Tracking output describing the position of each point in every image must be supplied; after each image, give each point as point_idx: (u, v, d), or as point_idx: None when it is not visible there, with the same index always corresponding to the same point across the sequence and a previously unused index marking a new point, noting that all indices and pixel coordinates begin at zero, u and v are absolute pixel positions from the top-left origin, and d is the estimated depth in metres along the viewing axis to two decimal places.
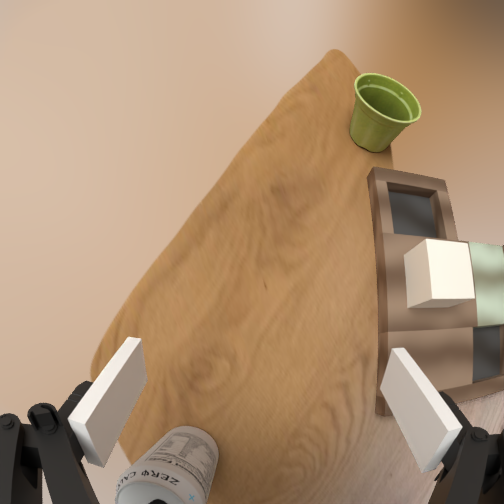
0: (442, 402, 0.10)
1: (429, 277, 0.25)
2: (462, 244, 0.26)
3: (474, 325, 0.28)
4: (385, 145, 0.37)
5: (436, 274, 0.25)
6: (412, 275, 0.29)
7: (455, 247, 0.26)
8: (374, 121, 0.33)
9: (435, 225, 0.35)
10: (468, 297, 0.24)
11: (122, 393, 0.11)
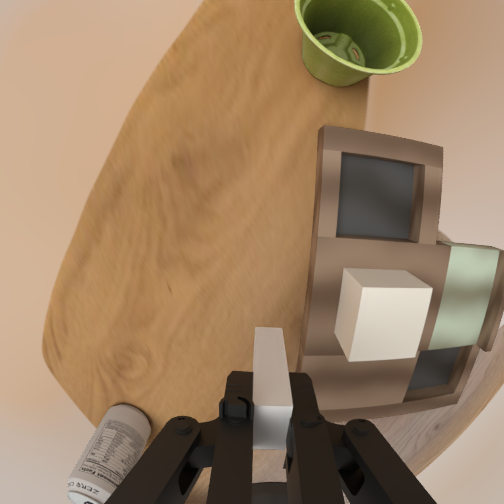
0: (288, 380, 0.12)
1: (352, 336, 0.21)
2: (423, 291, 0.20)
3: (423, 349, 0.26)
4: (355, 81, 0.22)
5: (363, 333, 0.21)
6: (344, 305, 0.24)
7: (409, 296, 0.20)
8: (328, 59, 0.17)
9: (411, 210, 0.26)
10: (405, 357, 0.21)
11: None
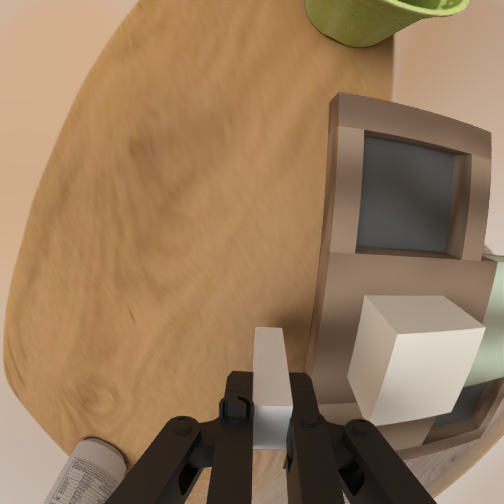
0: (288, 380, 0.12)
1: (375, 396, 0.13)
2: (474, 332, 0.12)
3: None
4: (379, 39, 0.14)
5: (391, 393, 0.13)
6: (363, 348, 0.16)
7: (457, 340, 0.12)
8: None
9: (450, 215, 0.18)
10: (439, 413, 0.14)
11: None
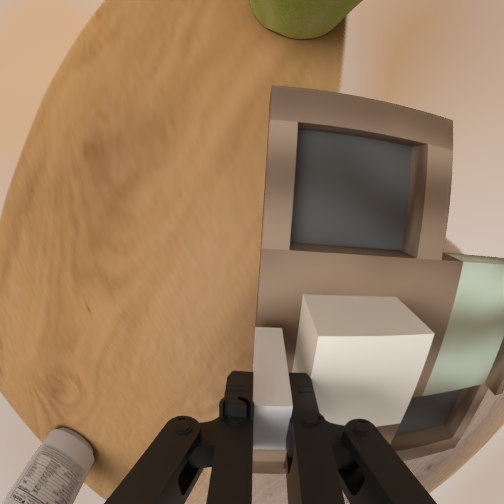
0: (288, 380, 0.12)
1: None
2: (419, 338, 0.12)
3: (416, 395, 0.19)
4: (322, 28, 0.14)
5: (321, 398, 0.13)
6: (300, 349, 0.16)
7: (396, 347, 0.12)
8: None
9: (408, 210, 0.18)
10: (385, 424, 0.14)
11: None
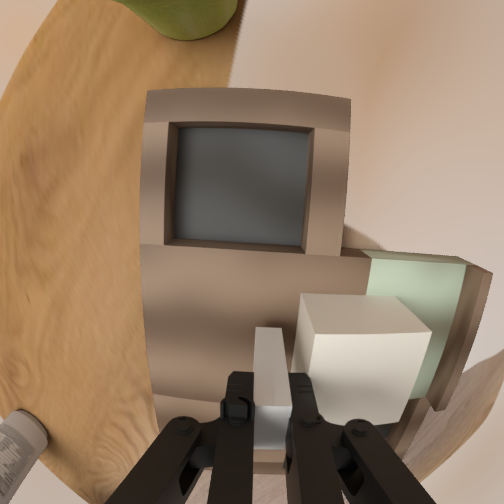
0: (288, 380, 0.12)
1: None
2: (416, 336, 0.12)
3: None
4: (204, 26, 0.14)
5: (319, 397, 0.13)
6: (298, 347, 0.16)
7: (394, 345, 0.13)
8: (124, 2, 0.10)
9: (304, 202, 0.18)
10: (384, 422, 0.14)
11: None
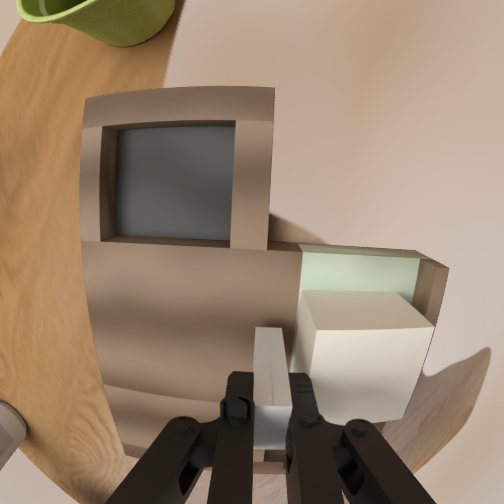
0: (288, 380, 0.12)
1: None
2: (419, 331, 0.12)
3: None
4: (138, 32, 0.14)
5: (321, 394, 0.13)
6: (299, 345, 0.16)
7: (396, 340, 0.12)
8: None
9: None
10: (387, 420, 0.14)
11: None
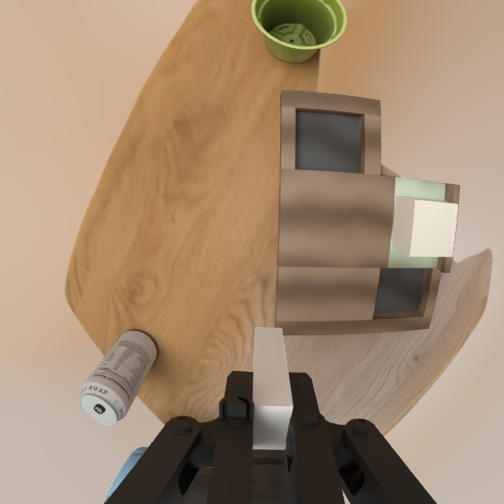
0: (288, 380, 0.12)
1: (410, 236, 0.29)
2: (452, 205, 0.27)
3: (383, 266, 0.35)
4: (306, 58, 0.29)
5: (418, 234, 0.28)
6: (399, 220, 0.32)
7: (444, 208, 0.28)
8: (278, 44, 0.25)
9: (359, 151, 0.33)
10: (445, 256, 0.29)
11: None
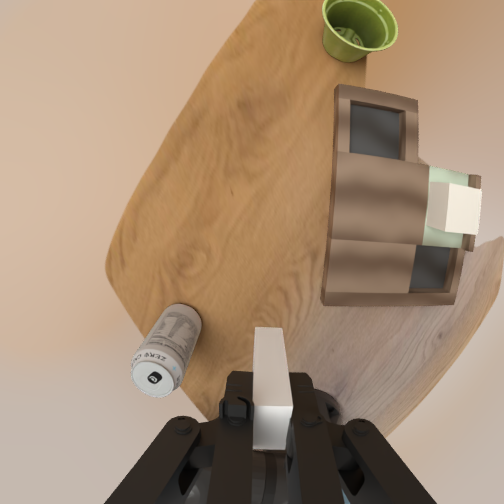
0: (288, 380, 0.12)
1: (445, 214, 0.31)
2: (477, 190, 0.30)
3: (418, 243, 0.37)
4: (357, 58, 0.32)
5: (451, 212, 0.31)
6: (433, 202, 0.34)
7: (471, 192, 0.30)
8: (341, 43, 0.28)
9: (399, 142, 0.36)
10: (472, 233, 0.32)
11: None
